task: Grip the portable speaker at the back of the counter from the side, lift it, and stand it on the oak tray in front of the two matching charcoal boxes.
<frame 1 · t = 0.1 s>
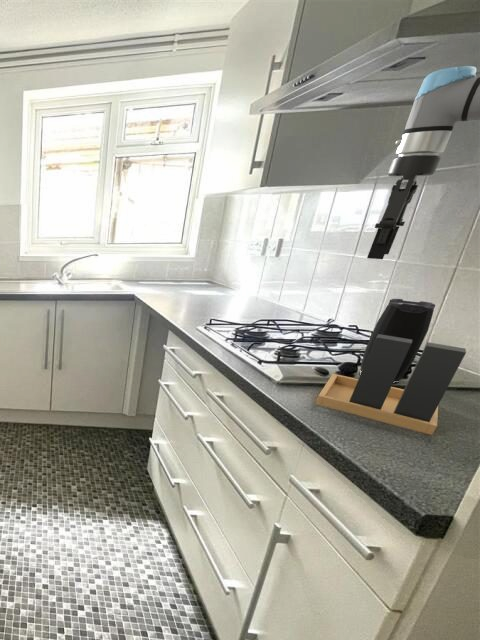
hand: (377, 256, 100), 29 cm above the countertop, tool pointing down, fingers open, 13 cm apart
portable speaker: (377, 378, 106), on the countertop
charcoal box b: (362, 410, 88), point 1 cm above the countertop, touching oak tray
charcoal box a: (407, 422, 84), point 1 cm above the countertop, touching oak tray
oak tray: (373, 407, 91), on the countertop
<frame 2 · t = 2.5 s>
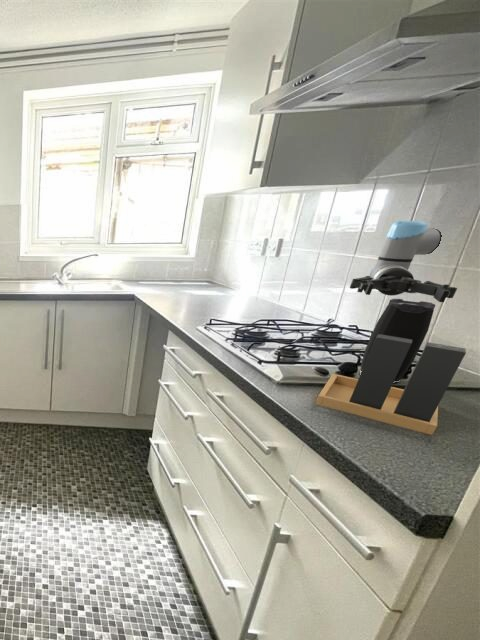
hand: (405, 293, 105), 20 cm above the countertop, tool horizontal, fingers open, 13 cm apart
nothing on the countertop moved.
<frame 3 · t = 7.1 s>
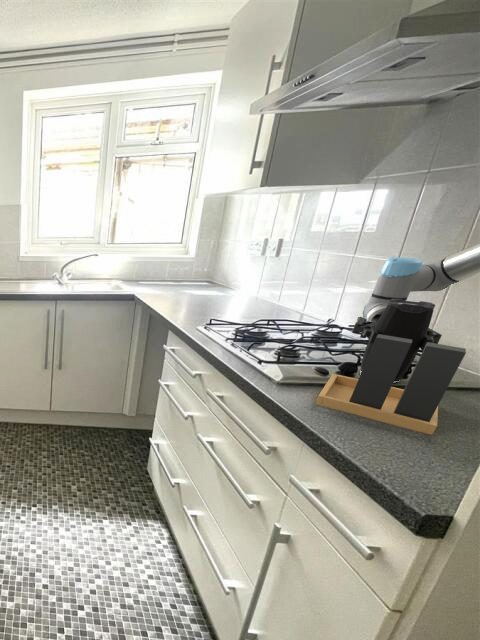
hand: (399, 341, 98), 11 cm above the countertop, tool horizontal, fingers closed on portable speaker, 8 cm apart
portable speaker: (378, 378, 106), on the countertop, touching gripper
everything else where it was.
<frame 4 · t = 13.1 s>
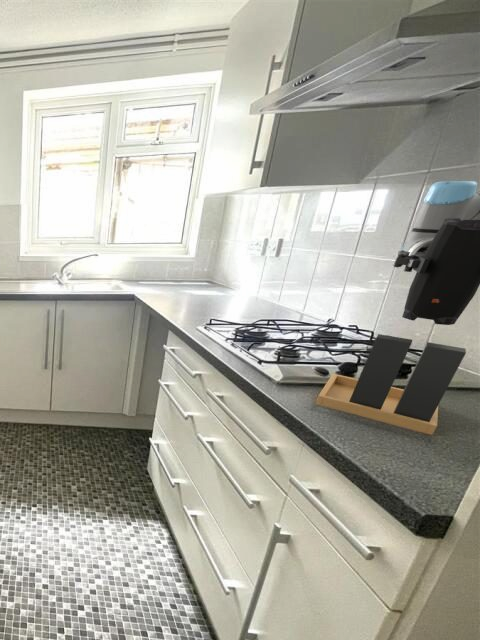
hand: (459, 268, 78), 30 cm above the countertop, tool horizontal, fingers closed on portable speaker, 8 cm apart
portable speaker: (426, 321, 86), point 19 cm above the countertop, touching gripper
everything else where it was.
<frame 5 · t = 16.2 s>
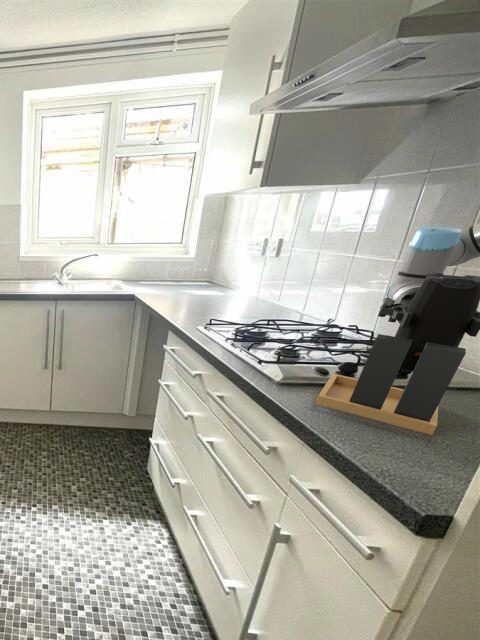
hand: (441, 325, 79), 20 cm above the countertop, tool horizontal, fingers closed on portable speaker, 8 cm apart
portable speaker: (410, 371, 87), point 9 cm above the countertop, touching gripper
everything else where it was.
when the fingers open (12 cm above the countertop, at t = 18.9 s): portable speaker stays where it is, resting on oak tray.
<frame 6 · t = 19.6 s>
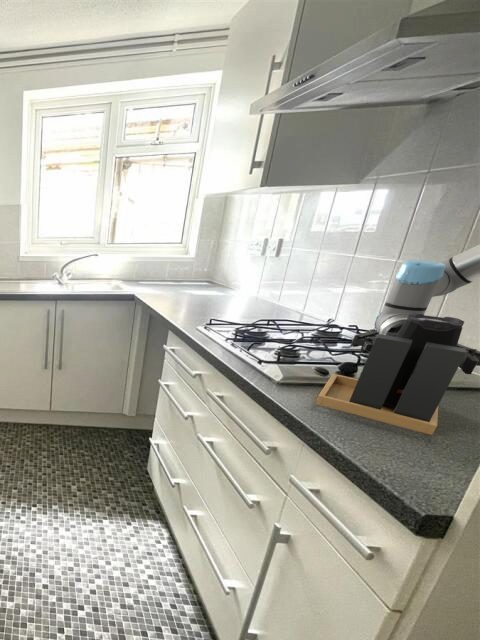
hand: (421, 360, 83), 12 cm above the countertop, tool horizontal, fingers open, 13 cm apart
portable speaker: (393, 406, 90), point 1 cm above the countertop, touching oak tray
everything else where it was.
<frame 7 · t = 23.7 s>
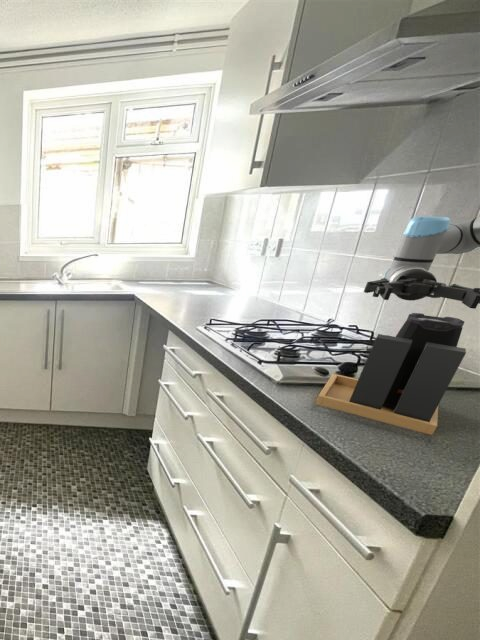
hand: (430, 297, 91), 22 cm above the countertop, tool horizontal, fingers open, 13 cm apart
nothing on the countertop moved.
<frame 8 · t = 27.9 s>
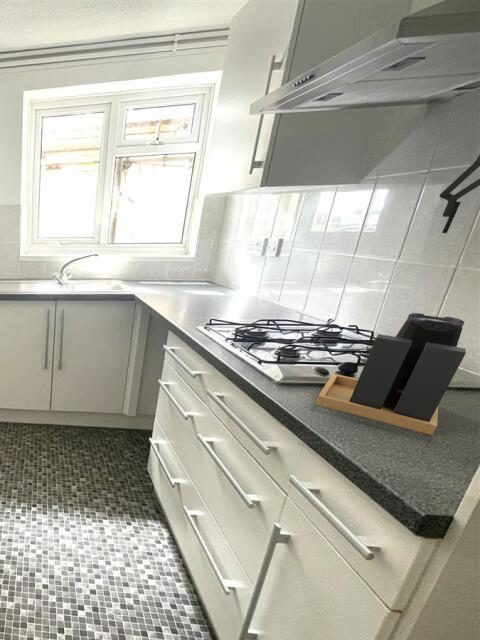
nothing on the countertop moved.
at the end: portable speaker inside the target area in the oak tray (2.0 cm from its centre), point 0.6 cm above the oak tray's base; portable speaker 8.5 cm from the charcoal box a (horizontally); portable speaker tilted 0° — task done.
